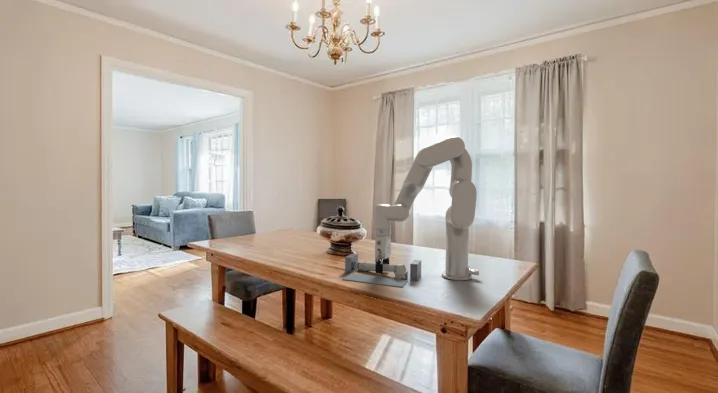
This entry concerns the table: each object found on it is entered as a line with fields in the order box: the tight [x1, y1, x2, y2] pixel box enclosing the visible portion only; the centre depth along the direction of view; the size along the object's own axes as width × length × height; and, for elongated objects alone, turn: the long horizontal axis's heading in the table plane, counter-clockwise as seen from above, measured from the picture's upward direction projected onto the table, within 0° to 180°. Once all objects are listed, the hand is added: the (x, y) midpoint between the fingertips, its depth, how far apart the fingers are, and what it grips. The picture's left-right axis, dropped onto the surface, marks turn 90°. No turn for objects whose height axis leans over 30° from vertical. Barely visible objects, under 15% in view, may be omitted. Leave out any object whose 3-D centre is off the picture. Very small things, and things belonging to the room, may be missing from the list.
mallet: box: [357, 261, 409, 280], centre depth 151 cm, size 5×7×25 cm
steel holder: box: [344, 253, 422, 282], centre depth 151 cm, size 33×8×7 cm, turn 68°
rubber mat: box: [341, 272, 409, 288], centre depth 142 cm, size 26×9×1 cm, turn 68°
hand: (382, 270), depth 151 cm, fingers open, 9 cm apart
